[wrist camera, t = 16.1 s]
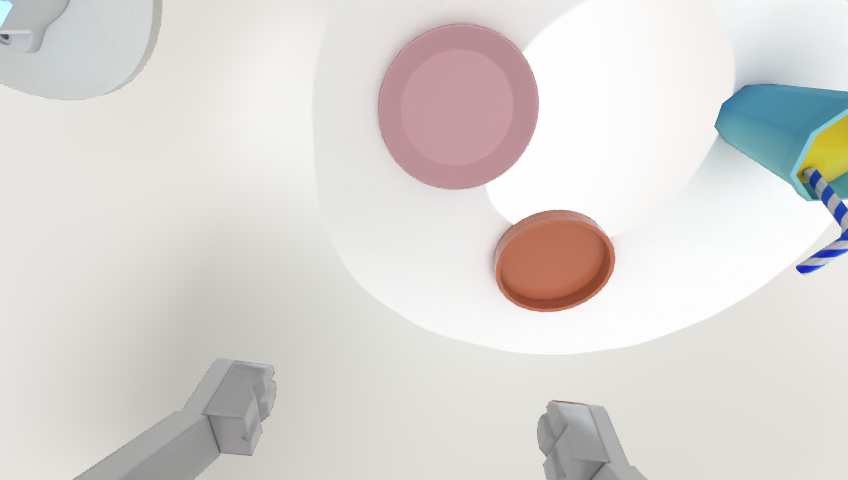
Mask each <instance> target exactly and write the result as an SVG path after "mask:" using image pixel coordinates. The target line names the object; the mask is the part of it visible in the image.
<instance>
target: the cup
mask: <svg viewBox="0 0 848 480" xmlns="http://www.w3.org/2000/svg"><path fill="white" fill-rule="evenodd" d="M714 127H715V128H716V130H717V131H718V132H719V134H720V135H721V136H722V138H723V139H724V140H725V141H726V142H727V143H729V144H730V145H732V146H733V147H735V148H736V149H738V150H739V151H741V152H742V153H744V154H745V155H747V156H748V157H750V158H751V159H753V160H755V161H756V162H758V163H759V164H761V165H762V166H764V167H765V168H767V169H768V170H770V171H771V172H773V173H774V174H776V175H777V176H779V177H780V178H782V179H783V180H785V181H786V182H788V183H789V184H791V185H792V186H793V188H794V189H795V191H796V192H797V194H798V195H800V196H801V197H802V198H804V199H805V200H806V201H822V202H823V203H824V205H825V206H826V207H827V209H828V210H829V211H830V213H831V214H832V216H833V217H834V218H835V220H836V221H837V222H838V224H839V225H840V226H841V228H842V234H841V237H840V238H839V239H837V240H836V241H834V242H833V243H831V244H829V245H828V246H826V247H825V248H823V249H822V250H820V251H819V252H817V253H816V254H814V255H813V256H811V257H810V258H808V259H806V260H805V261H803V262H802V263H800V264H799V265H797V266H796V269H797V270H798V271H799V272H800V273H801V274H803V275H805V276H806V275H809V274H810V273H812V272H813V271H815V270H817V269H819V268H820V267H822V266H824V265H825V264H827V263H829V262H830V261H832V260H834V259H835V258H837V257H839V256H840V255H842V254H844V253H846V252H847V251H848V209H847V207H846V206H845V205H844V203H843V202H842V201H841V200H847V199H848V92H845V91H836V90H826V89H816V88H806V87H796V86H786V85H777V84H762V85H747V86H745V87H743V88H742V89H741V90H740V91H738V92H737V93H736V94H734V95H733V96H732V97H731V98H729V99H728V100H727V101H725V102H724V103H723V104H722V106H721V109H720V112H719V115H718V118H717V121H716V123H715V126H714Z"/></svg>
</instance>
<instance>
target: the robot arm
mask: <svg viewBox="0 0 848 480" xmlns="http://www.w3.org/2000/svg"><path fill="white" fill-rule="evenodd" d="M68 2H69V0H0V46H3V47H6V48H9V49H12V50H15V51H18V52H22V53H35V52H37V51H38V50H39V49H40V46H41V44H42V40H43V36H44V31H45V29H46V27H47V26H48V25H49V24H50V23H52V22H53V21H54V20H56V19H57V18H58V17H59V16H60V15H61V14H62V12H63V11H64V10H65V8H66V6H67V4H68ZM274 373H275V372H274V367H273V366H272V365H265V364H258V363H250V362H243V361H237V360H229V359H222V358H218V359H217V360H216V361H215V362H213V364H212V365H211V366H210V368H209V369H208V371H207V372H206V374H205V375H204V377H203V378H202V380H201V382H200V383H199V385H198V386H197V388H196V389H195V391H194V392H193V394H192V395H191V397H190V398H189V400H188V402H187V403H186V404H185V406H184V408H183V409H182V411H181V412H174V413H172V414H171V415H169V416H168V417H166V418H165V419H163V420H161V421H160V422H159V423H157V424H155V425H154V426H153V427H151V428H149V429H148V430H146V431H145V432H143V433H142V434H140V435H139V436H138V437H136V438H135V439H133V440H131V441H130V442H128V443H127V444H126V445H124V446H122V447H121V448H120V449H118V450H116V451H115V452H113V453H112V454H110V455H109V456H107V457H106V458H104V459H103V460H101V461H100V462H98V463H97V464H95V465H94V466H92V467H91V468H89V469H88V470H86V471H85V472H83V473H82V474H80V475H79V476H77V477H76V478H74V479H73V480H194V479H195V478H196V477H197V476H198V475H199V474H200V473H202V472H203V471H204V470H205V469H206V468H207V467H208V466H209V465H210V464H211V463H212V462H213V461H214V460H215V459H216V458H218V457H219V456H220V453H225V454H236V455H247V456H252V454H253V452H254V450H255V448H256V445H257V443H258V441H259V438H260V436H261V434H262V427H261V422H262V421H263V420H265V419H266V418H267V417H268V416H269V415H270V412H271V410H272V407H273V404H274V401H275V397H276V382H275V381H274V380H273V379H272V377H273V375H274ZM546 408H547V411H548V412H547V413H546V414H543V415H542V416H541V417H540V419H539V421H538V428H537V436H538V443H539V448H540V450H541V451H542V452H543V453H544V454H545V456H546V460H545V462H544V464H543V466H544V470H545V475H546V479H547V480H647V479H646V478H645V477H644V476H643V475H642V474H641V473H640V472H639V470H637V468H636V467H634V466H629V463H628V461H627V459H626V456H625V454H624V451H623V449H622V447H621V444H620V442H619V439H618V437H617V435H616V432H615V430H614V428H613V425H612V423H611V421H610V418H609V416H608V413H607V411H606V410H605V408H604V407H602V406H597V405H586V404H583V403H573V402H565V401H555V400H552V401H550V402H549V403H548V405H547V407H546Z"/></svg>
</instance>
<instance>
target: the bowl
mask: <svg viewBox="0 0 848 480" xmlns="http://www.w3.org/2000/svg"><path fill="white" fill-rule="evenodd" d="M614 264H615V253H614V247H613V245H612V244H611V242H610V240H609V238H608V236H607V235H606V234H605V232H604V231H603V230H602V229H601V227H599V225H598V224H597V223H596V222H595V221H593V220H592V219H591V218H589V217H587V216H585V215H583V214H580V213H577V212H573V211H567V210H551V211H544V212H540V213H537V214H534V215H531V216H529V217H527V218H525V219H523V220H521V221H519V222H518V223H517V224H515V225H514V226H513V227H511V228H510V229H509V230H508V231H507V232H506V233H505V234H504V236H503V237H502V238H501V240H500V242H499V244H498V245H497V248H496V251H495V255H494V271H495V277H496V281H497V283H498V286H499V289H500V290H501V292H502V293H503V294H504V295H505V297H506V298H507V299H508V300H510V301H511V302H513V303H514V304H516V305H517V306H520V307H522V308H525V309H528V310H532V311H539V312H554V311H561V310H565V309H569V308H573V307H575V306H577V305H579V304H582V303H584V302H586V301H587V300H589V299H590V298H592V297H593V296H595V295H596V294H597V293H598V292H599V291H600V290H601V289H602V288H603V287H604V286H605V285H606V283H607V282H608V280H609V278H610V276H611V274H612V273H613V269H614Z"/></svg>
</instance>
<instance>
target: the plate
mask: <svg viewBox="0 0 848 480" xmlns="http://www.w3.org/2000/svg"><path fill="white" fill-rule="evenodd" d="M538 105H539V99H538V91H537V85H536V81H535V78H534V75H533V72H532V70H531V68H530V66H529V64H528V62H527V60H526V59H525V57H524V56H523V54H522V53H521V52H520V51H519V50H518V48H517V47H516V46H515V45H514V44H513V43H511V42H510V41H509V40H508V39H506V38H505V37H503V36H502V35H500V34H499V33H497V32H495V31H492V30H490V29H487V28H485V27H481V26H477V25H470V24H452V25H446V26H442V27H438V28H435V29H433V30H430V31H428V32H426V33H424V34H422V35H420V36H419V37H417V38H416V39H414V40H413V41H412V42H410V43H409V44H408V45H407V46H406V47H405V48H404V49H403V50H402V51H401V52H400V53H399V54H398V55H397V57H396V58H395V59H394V61H393V62H392V64H391V65H390V67H389V69H388V71H387V73H386V75H385V78H384V80H383V83H382V86H381V90H380V95H379V102H378V117H379V125H380V130H381V133H382V137H383V139H384V142H385V144H386V146H387V148H388V150H389V152H390V154H391V155H392V157H393V158H394V159H395V161H396V162H397V163H398V164H399V165H400V166H401V167H402V168H403V169H404V170H405V171H406V172H407V173H409V174H410V175H411V176H413V177H414V178H416V179H417V180H419V181H421V182H423V183H426V184H428V185H431V186H434V187H438V188H443V189H467V188H473V187H477V186H480V185H483V184H485V183H488V182H490V181H492V180H494V179H495V178H497V177H499V176H500V175H502V174H503V173H504V172H506V171H507V170H508V169H509V168H510V167H512V166H513V165H514V163H515V162H516V161H517V160H518V159H519V157H520V156H521V155H522V154H523V152H524V151H525V149H526V148H527V146H528V144H529V142H530V140H531V138H532V135H533V133H534V130H535V126H536V122H537V117H538V108H539V106H538Z"/></svg>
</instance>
